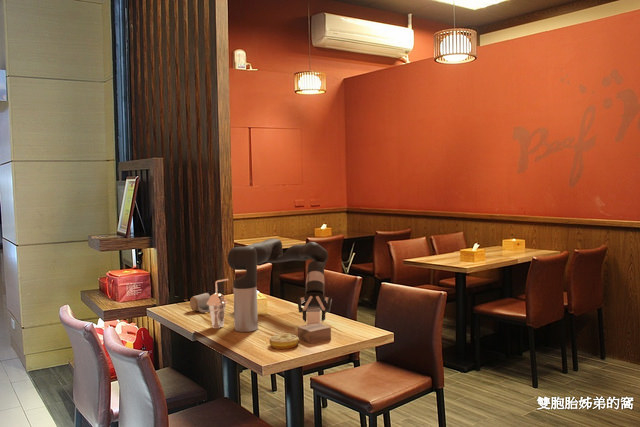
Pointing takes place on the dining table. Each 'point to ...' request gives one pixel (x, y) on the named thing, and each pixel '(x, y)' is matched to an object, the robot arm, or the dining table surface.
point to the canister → (313, 314)
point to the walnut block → (314, 333)
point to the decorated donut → (284, 341)
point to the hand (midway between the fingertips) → (313, 320)
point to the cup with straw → (217, 307)
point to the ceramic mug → (200, 303)
